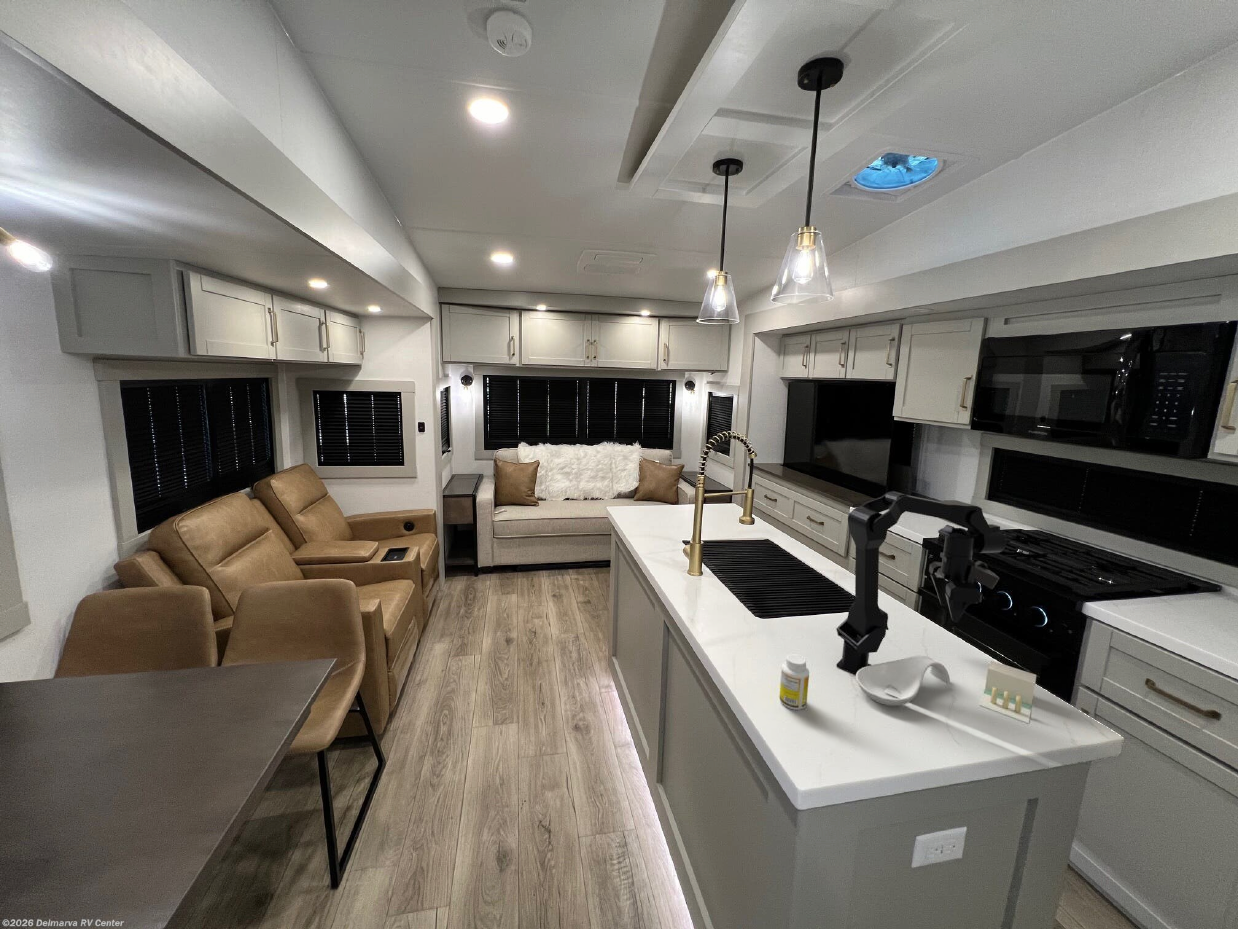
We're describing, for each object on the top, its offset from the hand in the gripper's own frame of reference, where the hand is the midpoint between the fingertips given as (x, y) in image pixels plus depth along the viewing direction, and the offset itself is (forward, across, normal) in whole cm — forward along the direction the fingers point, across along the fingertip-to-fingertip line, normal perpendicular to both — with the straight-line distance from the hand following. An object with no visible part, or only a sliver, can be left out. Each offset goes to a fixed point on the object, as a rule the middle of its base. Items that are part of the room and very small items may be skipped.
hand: (949, 613), depth 119 cm
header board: (+13, -15, -8) cm, 21 cm away
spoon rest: (+13, -18, +12) cm, 25 cm away
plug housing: (+12, -12, -10) cm, 19 cm away
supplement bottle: (+13, -32, +36) cm, 50 cm away
